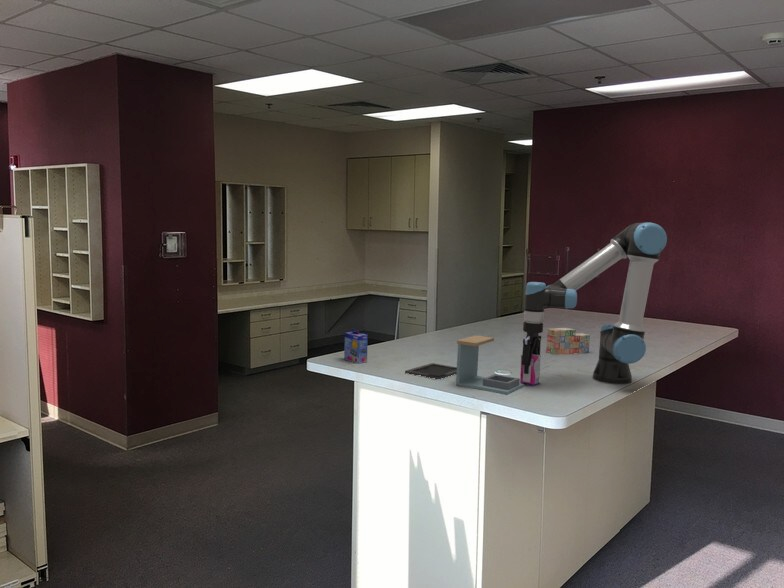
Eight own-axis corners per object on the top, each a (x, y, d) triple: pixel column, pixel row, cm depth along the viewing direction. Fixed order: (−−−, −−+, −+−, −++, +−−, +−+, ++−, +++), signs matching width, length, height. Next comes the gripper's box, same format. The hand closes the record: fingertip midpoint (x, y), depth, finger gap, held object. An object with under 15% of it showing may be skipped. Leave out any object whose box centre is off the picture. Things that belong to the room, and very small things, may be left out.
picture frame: (438, 381, 259) (464, 372, 277) (439, 376, 259) (464, 367, 276) (405, 374, 269) (432, 366, 286) (405, 369, 268) (432, 362, 286)
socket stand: (523, 386, 254) (526, 342, 252) (507, 394, 241) (510, 348, 239) (473, 377, 265) (475, 335, 264) (454, 384, 252) (457, 340, 250)
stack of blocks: (580, 351, 335) (582, 327, 334) (588, 353, 330) (590, 329, 328) (545, 352, 327) (547, 328, 326) (553, 355, 321) (555, 330, 320)
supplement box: (526, 381, 263) (528, 352, 262) (539, 383, 259) (541, 355, 258) (519, 383, 259) (520, 354, 257) (532, 386, 255) (534, 357, 254)
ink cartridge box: (343, 359, 290) (344, 327, 288) (352, 358, 294) (353, 326, 292) (358, 363, 283) (359, 330, 281) (367, 362, 287) (368, 329, 285)
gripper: (533, 318, 266) (529, 374, 269) (514, 323, 250) (511, 383, 253) (551, 320, 262) (547, 377, 265) (533, 325, 246) (529, 386, 249)
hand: (529, 380), depth 259 cm, fingers closed on supplement box, 6 cm apart
